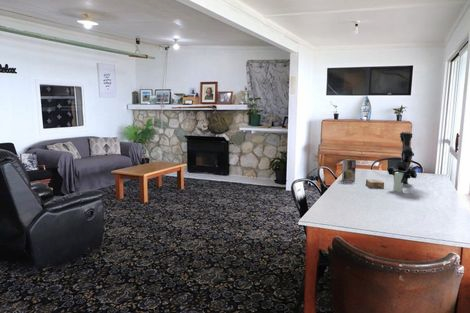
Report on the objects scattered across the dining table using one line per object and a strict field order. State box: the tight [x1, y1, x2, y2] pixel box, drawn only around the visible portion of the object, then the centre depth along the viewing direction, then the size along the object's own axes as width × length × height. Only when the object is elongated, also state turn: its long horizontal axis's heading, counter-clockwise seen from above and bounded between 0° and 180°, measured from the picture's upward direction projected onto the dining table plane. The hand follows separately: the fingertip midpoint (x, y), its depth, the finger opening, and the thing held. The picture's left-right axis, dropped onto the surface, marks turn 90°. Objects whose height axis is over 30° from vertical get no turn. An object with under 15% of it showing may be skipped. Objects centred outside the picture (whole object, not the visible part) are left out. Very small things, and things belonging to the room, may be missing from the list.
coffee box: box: [341, 158, 357, 181], centre depth 291 cm, size 9×6×16 cm
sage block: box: [393, 172, 404, 193], centre depth 255 cm, size 4×4×13 cm
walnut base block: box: [365, 178, 385, 189], centre depth 269 cm, size 10×10×4 cm
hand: (397, 182), depth 254 cm, fingers closed on sage block, 4 cm apart
